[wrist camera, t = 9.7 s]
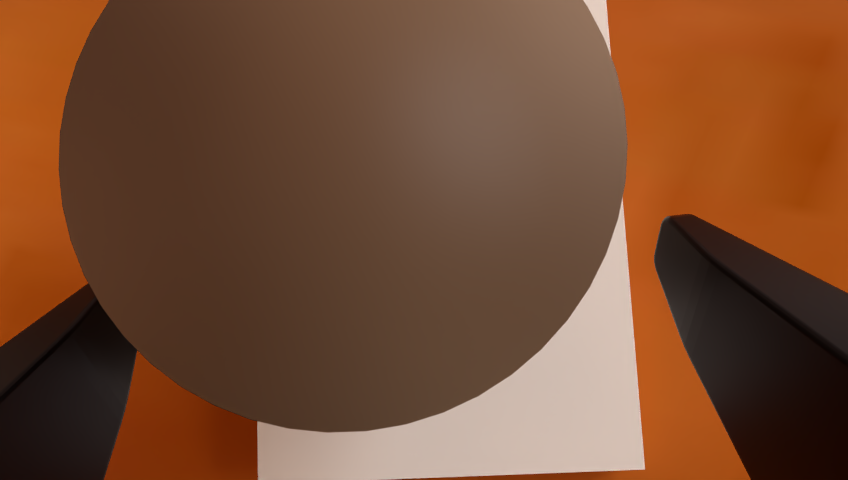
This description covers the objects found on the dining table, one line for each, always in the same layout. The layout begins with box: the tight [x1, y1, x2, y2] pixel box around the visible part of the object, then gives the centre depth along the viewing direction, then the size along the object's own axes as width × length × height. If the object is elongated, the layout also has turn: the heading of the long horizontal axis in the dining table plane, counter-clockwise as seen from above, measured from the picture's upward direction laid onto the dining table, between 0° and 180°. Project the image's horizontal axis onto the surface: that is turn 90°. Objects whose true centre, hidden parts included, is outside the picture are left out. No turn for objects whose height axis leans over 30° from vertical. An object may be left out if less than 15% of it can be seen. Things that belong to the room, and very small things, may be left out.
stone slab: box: [257, 0, 645, 480], centre depth 19 cm, size 16×12×2 cm
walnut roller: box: [59, 0, 627, 433], centre depth 11 cm, size 5×5×13 cm
